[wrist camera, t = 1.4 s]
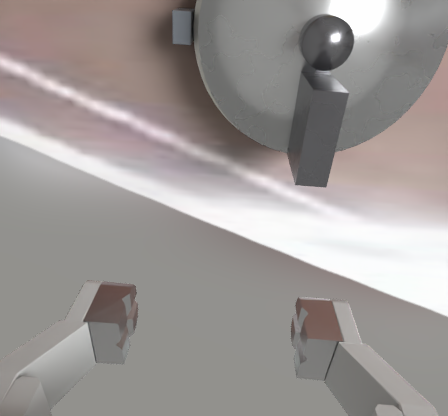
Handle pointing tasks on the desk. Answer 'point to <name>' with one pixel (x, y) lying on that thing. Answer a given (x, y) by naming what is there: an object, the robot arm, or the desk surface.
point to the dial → (319, 70)
